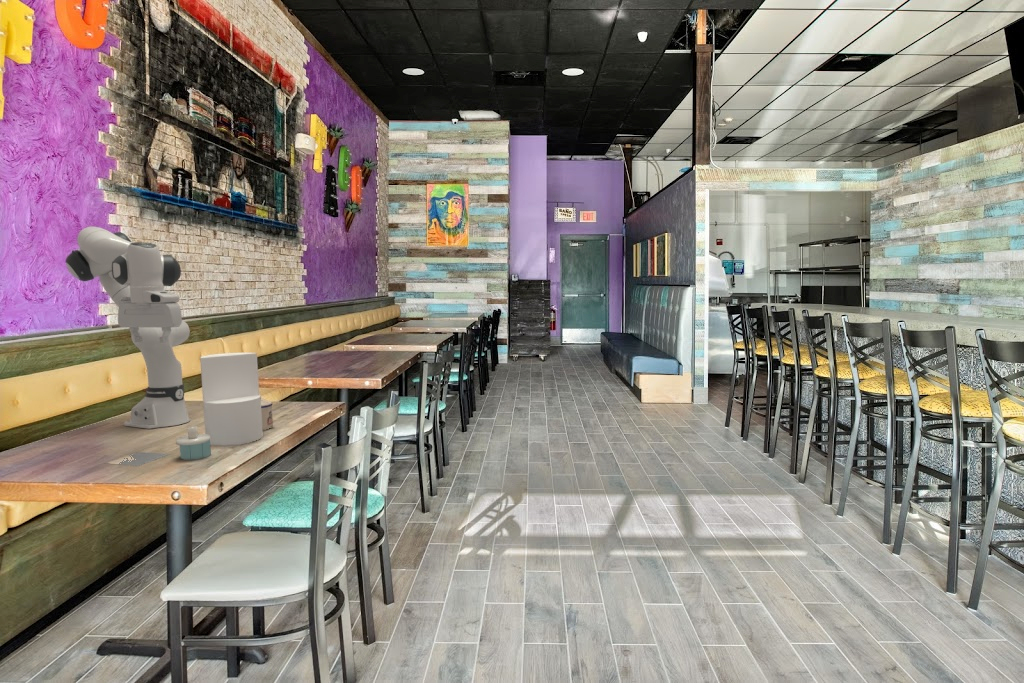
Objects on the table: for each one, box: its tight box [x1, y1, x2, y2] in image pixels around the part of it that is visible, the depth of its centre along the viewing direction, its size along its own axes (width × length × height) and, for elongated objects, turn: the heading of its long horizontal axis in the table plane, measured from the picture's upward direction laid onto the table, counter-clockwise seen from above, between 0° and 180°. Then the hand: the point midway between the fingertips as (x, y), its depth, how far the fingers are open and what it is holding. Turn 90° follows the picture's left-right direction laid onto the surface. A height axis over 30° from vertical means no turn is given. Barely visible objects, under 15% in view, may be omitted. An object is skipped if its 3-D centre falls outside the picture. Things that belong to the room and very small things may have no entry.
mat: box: [118, 451, 171, 467], centre depth 181 cm, size 12×12×1 cm
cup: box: [179, 440, 212, 461], centre depth 183 cm, size 8×8×5 cm
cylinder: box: [199, 352, 264, 447], centre depth 202 cm, size 17×17×28 cm
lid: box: [175, 425, 210, 446], centre depth 182 cm, size 9×9×4 cm
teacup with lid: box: [261, 398, 274, 431], centre depth 219 cm, size 12×9×12 cm
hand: (151, 342), depth 185 cm, fingers open, 8 cm apart
